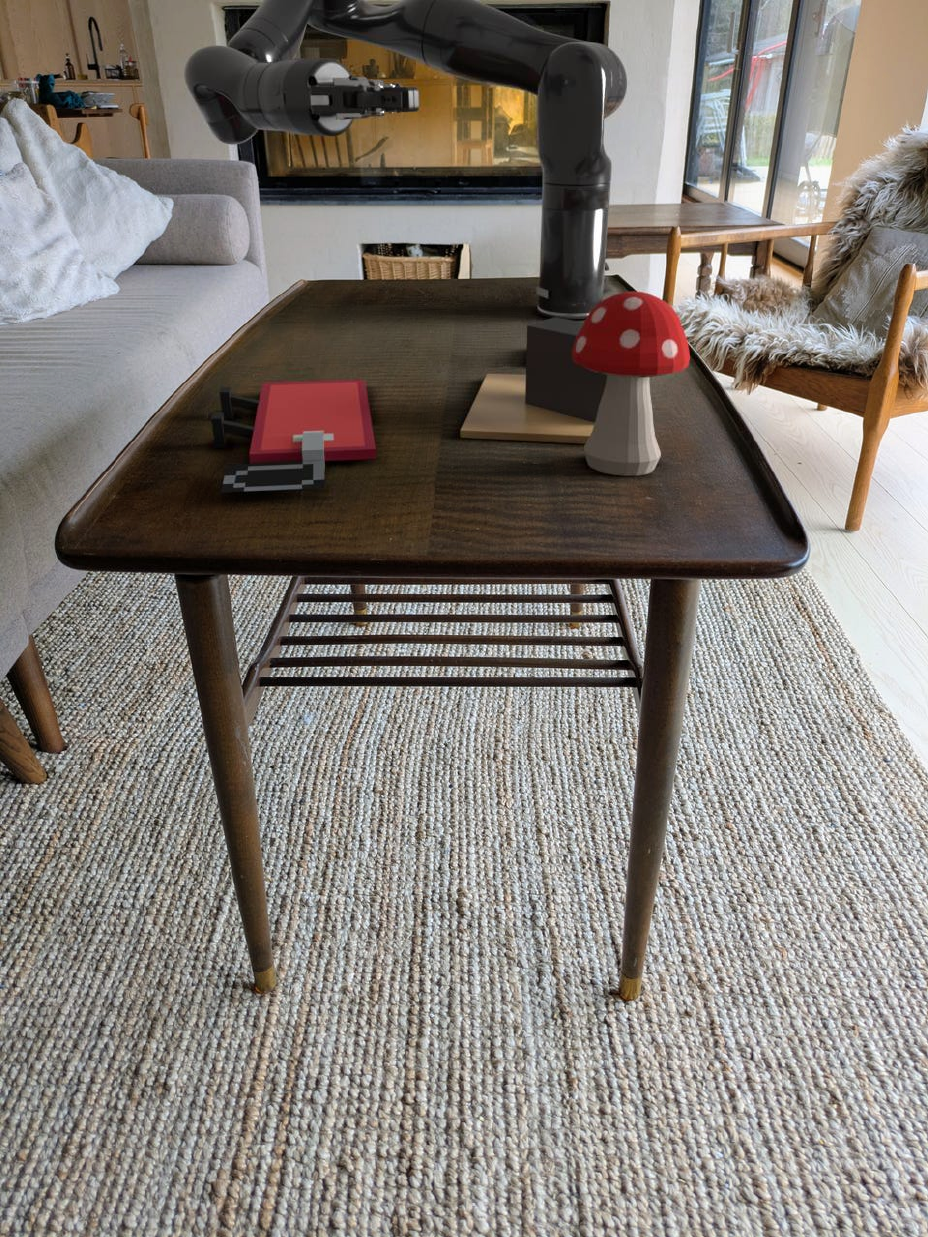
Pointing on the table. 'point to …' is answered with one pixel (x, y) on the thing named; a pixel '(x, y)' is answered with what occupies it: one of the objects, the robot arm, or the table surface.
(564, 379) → the tall charcoal box
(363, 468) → the table surface
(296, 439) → the red board with handle
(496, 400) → the wooden board
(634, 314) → the decorative mushroom
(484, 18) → the robot arm
